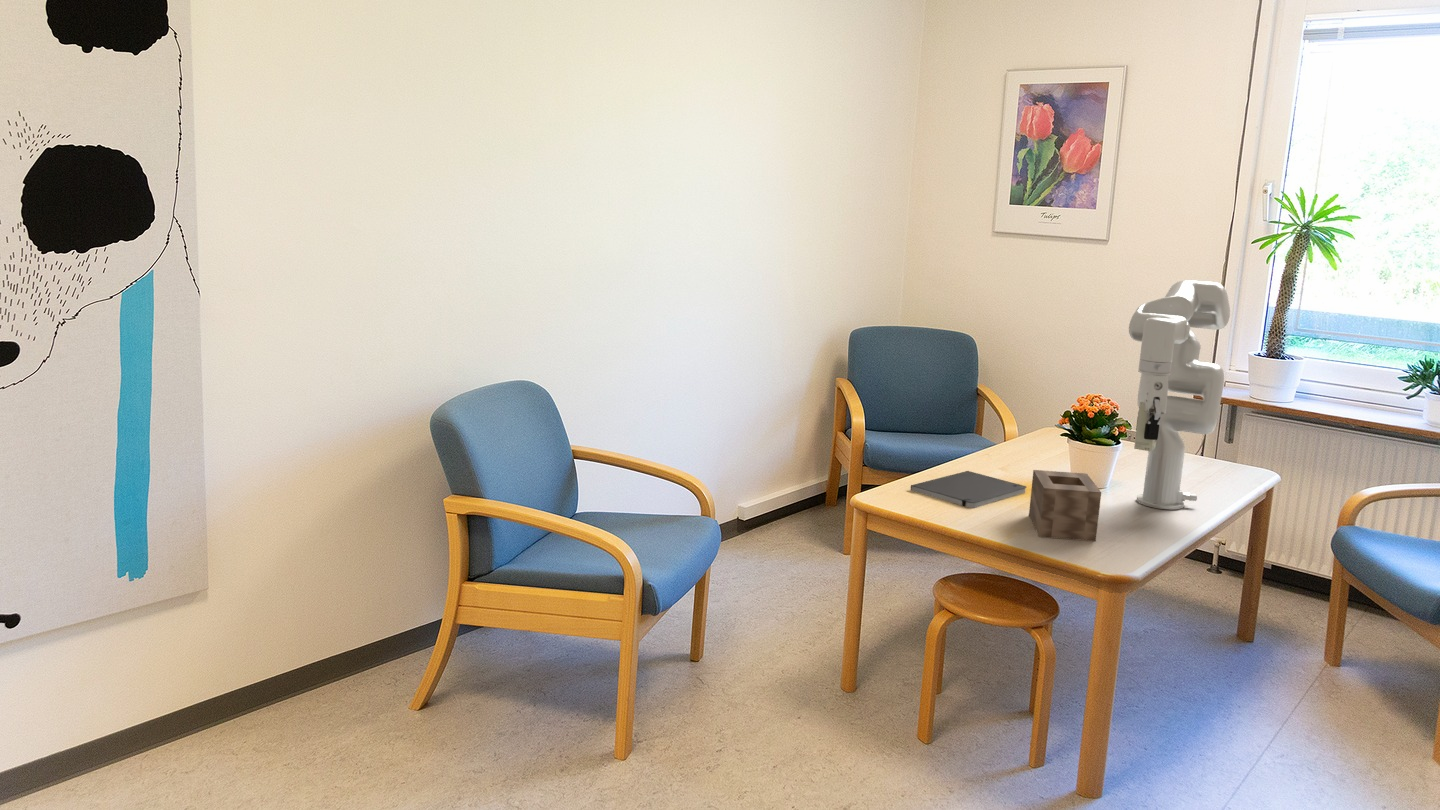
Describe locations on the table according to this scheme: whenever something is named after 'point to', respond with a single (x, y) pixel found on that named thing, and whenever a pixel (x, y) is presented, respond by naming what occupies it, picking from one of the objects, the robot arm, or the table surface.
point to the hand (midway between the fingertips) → (1146, 435)
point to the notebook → (969, 489)
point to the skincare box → (1139, 440)
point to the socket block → (1064, 505)
